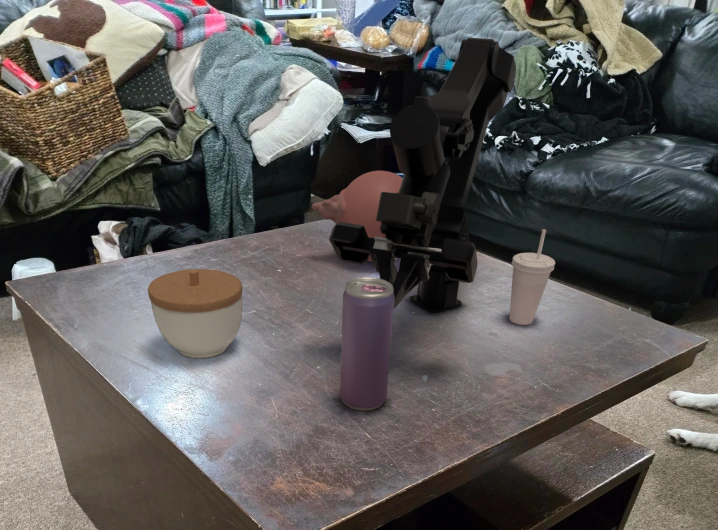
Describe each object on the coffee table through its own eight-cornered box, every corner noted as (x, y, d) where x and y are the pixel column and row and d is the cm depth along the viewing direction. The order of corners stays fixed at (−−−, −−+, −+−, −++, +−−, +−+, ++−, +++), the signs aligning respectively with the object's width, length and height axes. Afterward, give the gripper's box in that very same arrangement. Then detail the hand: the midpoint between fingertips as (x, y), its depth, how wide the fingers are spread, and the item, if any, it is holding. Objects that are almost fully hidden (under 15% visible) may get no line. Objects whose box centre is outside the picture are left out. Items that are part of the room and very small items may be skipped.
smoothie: (545, 329, 100) (567, 237, 91) (504, 328, 100) (523, 236, 91) (536, 312, 105) (556, 223, 96) (497, 311, 105) (514, 222, 96)
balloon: (314, 244, 128) (314, 159, 118) (414, 247, 128) (422, 163, 118) (309, 272, 116) (308, 180, 106) (418, 276, 116) (428, 184, 106)
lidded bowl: (212, 320, 99) (205, 248, 92) (264, 348, 93) (259, 273, 86) (141, 345, 92) (126, 269, 85) (190, 377, 86) (179, 297, 79)
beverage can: (382, 415, 80) (391, 299, 70) (335, 409, 80) (338, 293, 71) (389, 391, 84) (398, 279, 75) (344, 386, 85) (348, 274, 75)
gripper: (336, 152, 77) (298, 272, 76) (488, 170, 72) (450, 299, 71) (357, 205, 88) (324, 311, 87) (490, 224, 83) (457, 337, 82)
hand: (384, 314), depth 81 cm, fingers closed
